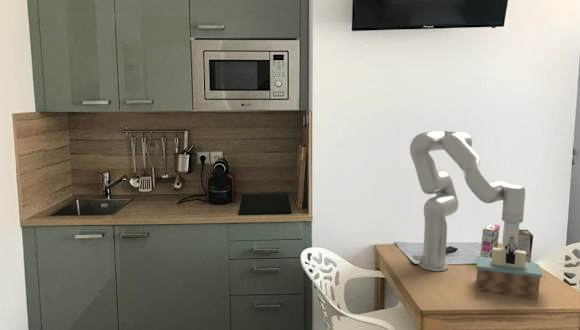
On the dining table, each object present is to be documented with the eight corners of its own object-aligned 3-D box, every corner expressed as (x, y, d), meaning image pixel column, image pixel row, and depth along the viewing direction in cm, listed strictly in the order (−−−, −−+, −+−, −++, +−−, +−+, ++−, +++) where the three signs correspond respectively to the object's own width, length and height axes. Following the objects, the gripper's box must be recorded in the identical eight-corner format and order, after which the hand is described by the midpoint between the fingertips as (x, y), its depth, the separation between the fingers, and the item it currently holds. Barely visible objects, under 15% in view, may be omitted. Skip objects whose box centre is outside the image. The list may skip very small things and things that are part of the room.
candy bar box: (490, 266, 224) (493, 230, 221) (479, 263, 227) (482, 228, 224) (497, 258, 233) (500, 224, 230) (486, 256, 236) (489, 222, 233)
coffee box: (530, 271, 218) (533, 235, 216) (514, 270, 220) (517, 234, 217) (525, 263, 227) (528, 229, 224) (509, 262, 229) (513, 228, 226)
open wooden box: (476, 290, 198) (477, 268, 197) (476, 279, 209) (478, 259, 207) (537, 299, 191) (540, 277, 189) (534, 288, 201) (537, 266, 199)
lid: (476, 271, 197) (477, 251, 195) (476, 261, 208) (478, 242, 206) (541, 280, 189) (543, 259, 187) (538, 269, 200) (540, 249, 198)
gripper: (501, 210, 204) (498, 251, 206) (502, 221, 188) (499, 265, 190) (521, 212, 201) (518, 253, 204) (525, 223, 185) (521, 268, 188)
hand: (509, 259), depth 197 cm, fingers open, 9 cm apart
